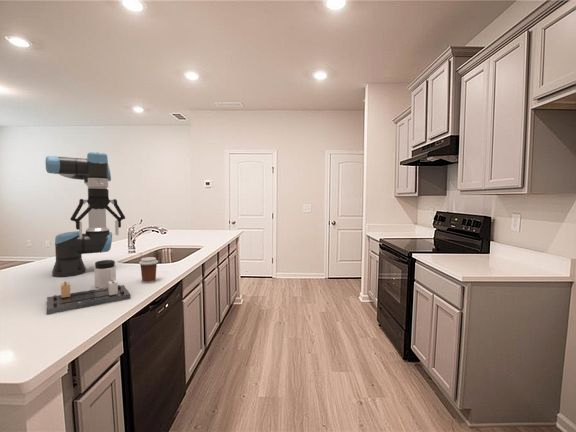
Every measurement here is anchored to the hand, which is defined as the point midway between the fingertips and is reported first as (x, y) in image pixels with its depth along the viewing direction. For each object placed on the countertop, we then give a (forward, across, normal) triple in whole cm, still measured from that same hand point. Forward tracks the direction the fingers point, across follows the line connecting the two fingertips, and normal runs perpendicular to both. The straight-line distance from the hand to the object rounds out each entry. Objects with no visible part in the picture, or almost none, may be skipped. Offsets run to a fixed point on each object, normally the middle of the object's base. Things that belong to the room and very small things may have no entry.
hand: (99, 235), depth 127 cm
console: (+27, -5, -5) cm, 28 cm away
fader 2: (+24, +3, -10) cm, 26 cm away
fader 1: (+24, -13, -1) cm, 27 cm away
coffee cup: (+27, +23, +9) cm, 36 cm away
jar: (+27, +4, +14) cm, 30 cm away
